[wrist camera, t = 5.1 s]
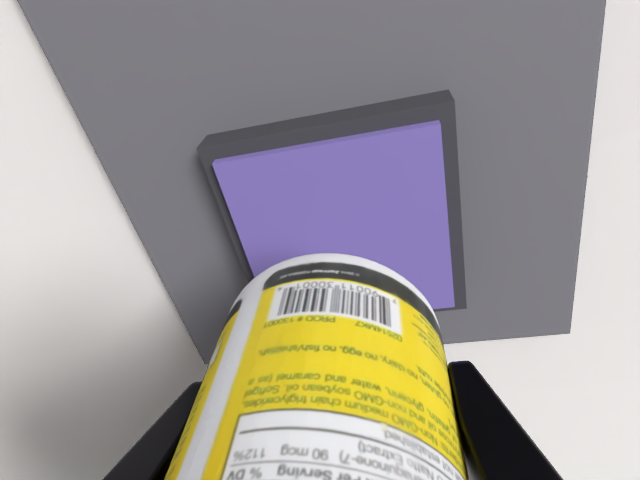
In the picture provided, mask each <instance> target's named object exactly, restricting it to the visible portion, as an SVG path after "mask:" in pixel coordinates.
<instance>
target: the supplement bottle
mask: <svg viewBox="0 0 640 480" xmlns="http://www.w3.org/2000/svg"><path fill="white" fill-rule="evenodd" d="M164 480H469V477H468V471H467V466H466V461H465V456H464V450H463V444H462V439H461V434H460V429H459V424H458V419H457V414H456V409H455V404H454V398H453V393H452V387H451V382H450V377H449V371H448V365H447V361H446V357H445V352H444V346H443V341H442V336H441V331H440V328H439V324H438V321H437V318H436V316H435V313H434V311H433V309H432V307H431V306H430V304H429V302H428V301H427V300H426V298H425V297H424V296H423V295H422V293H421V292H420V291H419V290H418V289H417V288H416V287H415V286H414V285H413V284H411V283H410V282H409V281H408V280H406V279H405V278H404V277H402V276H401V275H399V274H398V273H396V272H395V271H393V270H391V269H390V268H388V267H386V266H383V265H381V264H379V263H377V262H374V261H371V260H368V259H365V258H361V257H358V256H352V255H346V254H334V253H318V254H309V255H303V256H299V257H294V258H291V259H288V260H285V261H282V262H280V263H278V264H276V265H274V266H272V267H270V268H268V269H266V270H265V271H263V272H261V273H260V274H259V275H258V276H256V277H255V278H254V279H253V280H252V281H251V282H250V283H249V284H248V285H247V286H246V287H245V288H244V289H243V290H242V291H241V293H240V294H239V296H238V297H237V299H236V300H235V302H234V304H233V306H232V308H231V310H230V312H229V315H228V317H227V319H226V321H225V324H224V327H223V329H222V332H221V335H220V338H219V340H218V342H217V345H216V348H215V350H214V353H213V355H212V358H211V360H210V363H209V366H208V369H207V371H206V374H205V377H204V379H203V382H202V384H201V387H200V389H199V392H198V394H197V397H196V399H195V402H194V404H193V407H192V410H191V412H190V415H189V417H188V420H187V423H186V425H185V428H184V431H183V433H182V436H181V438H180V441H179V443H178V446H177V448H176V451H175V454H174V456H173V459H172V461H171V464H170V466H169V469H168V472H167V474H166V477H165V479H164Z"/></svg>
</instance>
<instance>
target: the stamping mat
mask: <svg viewBox="0 0 640 480" xmlns="http://www.w3.org/2000/svg"><path fill="white" fill-rule="evenodd" d="M17 1H18V3H19V4H20V6H21V8H22V10H23V12H24V14H25V16H26V18H27V20H28V22H29V24H30V26H31V28H32V30H33V32H34V34H35V35H36V37H37V39H38V41H39V43H40V45H41V47H42V49H43V51H44V53H45V55H46V57H47V59H48V61H49V63H50V65H51V66H52V68H53V70H54V72H55V74H56V76H57V78H58V80H59V82H60V84H61V86H62V88H63V90H64V92H65V94H66V96H67V98H68V99H69V101H70V103H71V105H72V107H73V109H74V111H75V113H76V115H77V117H78V119H79V121H80V123H81V125H82V127H83V129H84V130H85V132H86V134H87V136H88V138H89V140H90V142H91V144H92V146H93V148H94V150H95V152H96V154H97V156H98V158H99V160H100V161H101V163H102V165H103V167H104V169H105V171H106V173H107V175H108V177H109V179H110V181H111V183H112V185H113V187H114V189H115V191H116V192H117V194H118V196H119V198H120V200H121V202H122V204H123V206H124V208H125V210H126V212H127V214H128V216H129V218H130V220H131V222H132V223H133V225H134V227H135V229H136V231H137V233H138V235H139V237H140V239H141V241H142V243H143V245H144V247H145V249H146V251H147V253H148V255H149V256H150V258H151V260H152V262H153V264H154V266H155V268H156V270H157V272H158V274H159V276H160V278H161V280H162V282H163V284H164V286H165V287H166V289H167V291H168V293H169V295H170V297H171V299H172V301H173V303H174V305H175V307H176V309H177V311H178V313H179V315H180V317H181V318H182V320H183V322H184V324H185V326H186V328H187V330H188V332H189V334H190V336H191V338H192V340H193V342H194V344H195V346H196V348H197V349H198V351H199V353H200V355H201V357H202V359H203V361H204V363H205V364H209V363H210V360H211V358H212V355H213V353H214V350H215V348H216V345H217V342H218V340H219V338H220V335H221V332H222V329H223V327H224V324H225V321H226V319H227V317H228V315H229V312H230V310H231V308H232V306H233V304H234V302H235V300H236V299H237V297H238V296H239V294H240V293H241V291H242V290H243V289H244V288H245V287H246V286H247V285H248V284H249V283H250V282H251V281H252V280H253V279H254V278H255V277H256V276H258V275H259V274H260V273H261V272H263V271H265V270H266V269H268V268H270V267H272V266H274V265H276V264H278V263H280V262H282V261H285V260H288V259H291V258H294V257H299V256H303V255H309V254H318V253H334V254H346V255H352V256H358V257H361V258H365V259H368V260H371V261H374V262H377V263H379V264H381V265H383V266H386V267H388V268H390V269H391V270H393V271H395V272H396V273H398V274H399V275H401V276H402V277H404V278H405V279H406V280H408V281H409V282H410V283H411V284H413V285H414V286H415V287H416V288H417V289H418V290H419V291H420V292H421V293H422V295H423V296H424V297H425V298H426V300H427V301H428V302H429V304H430V306H431V307H432V309H433V311H434V313H435V316H436V318H437V321H438V324H439V328H440V331H441V336H442V341H443V344H450V343H462V342H474V341H486V340H497V339H509V338H521V337H533V336H545V335H556V334H568V333H570V328H571V319H572V310H573V300H574V291H575V282H576V273H577V264H578V254H579V245H580V236H581V227H582V218H583V208H584V199H585V190H586V181H587V172H588V162H589V153H590V144H591V135H592V125H593V116H594V107H595V98H596V89H597V79H598V70H599V61H600V52H601V43H602V33H603V24H604V15H605V6H606V0H17Z"/></svg>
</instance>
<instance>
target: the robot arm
mask: <svg viewBox="0 0 640 480" xmlns="http://www.w3.org/2000/svg"><path fill="white" fill-rule="evenodd" d="M448 371H449V377H450V382H451V387H452V393H453V398H454V404H455V409H456V414H457V419H458V424H459V429H460V434H461V439H462V444H463V450H464V456H465V461H466V466H467V471H468V477H469V480H563V479H562V477H561V476H560V475H559V474H558V472H557V471H556V470H555V468H554V467H553V466H552V465H551V463H550V462H549V461H548V459H547V458H546V457H545V456H544V454H543V453H542V452H541V451H540V449H539V448H538V447H537V445H536V444H535V443H534V442H533V440H532V439H531V438H530V436H529V435H528V434H527V433H526V431H525V430H524V429H523V428H522V426H521V425H520V424H519V422H518V421H517V420H516V419H515V417H514V416H513V415H512V414H511V412H510V411H509V410H508V408H507V407H506V406H505V405H504V403H503V402H502V401H501V399H500V398H499V397H498V396H497V394H496V393H495V392H494V391H493V389H492V388H491V387H490V385H489V384H488V383H487V382H486V380H485V379H484V378H483V376H482V375H481V374H480V373H479V371H478V370H477V369H476V368H475V366H474V365H473V364H472V363H471V362H470V361H457V362H450V363H449V364H448ZM201 384H202V382H194V383H192V384H191V385H190V386H189V387H188V388H187V389H186V390H185V391H184V392H183V393H182V394H181V395H180V396H179V397H178V399H177V400H176V401H175V402H174V403H173V404H172V405H171V406H170V407H169V408H168V409H167V410H166V412H165V413H164V414H163V415H162V416H161V417H160V418H159V419H158V420H157V421H156V422H155V423H154V424H153V426H152V427H151V428H150V429H149V430H148V431H147V432H146V433H145V434H144V435H143V436H142V437H141V439H140V440H139V441H138V442H137V443H136V444H135V445H134V446H133V447H132V448H131V449H130V450H129V452H128V453H127V454H126V455H125V456H124V457H123V458H122V459H121V460H120V461H119V462H118V463H117V465H116V466H115V467H114V468H113V469H112V470H111V471H110V472H109V473H108V474H107V475H106V476H105V478H104V479H103V480H164V479H165V477H166V474H167V472H168V469H169V466H170V464H171V461H172V459H173V456H174V454H175V451H176V448H177V446H178V443H179V441H180V438H181V436H182V433H183V431H184V428H185V425H186V423H187V420H188V417H189V415H190V412H191V410H192V407H193V404H194V402H195V399H196V397H197V394H198V392H199V389H200V387H201Z"/></svg>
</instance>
